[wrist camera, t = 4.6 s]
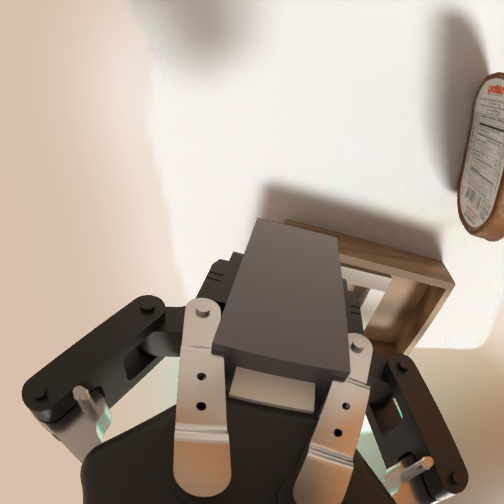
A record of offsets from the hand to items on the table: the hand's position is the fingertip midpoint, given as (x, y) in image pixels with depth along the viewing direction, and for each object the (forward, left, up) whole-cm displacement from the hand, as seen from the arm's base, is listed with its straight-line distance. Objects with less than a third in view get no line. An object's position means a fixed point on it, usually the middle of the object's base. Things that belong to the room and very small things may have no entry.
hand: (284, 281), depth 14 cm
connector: (0, 0, -2) cm, 2 cm away
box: (+10, +9, -15) cm, 20 cm away
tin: (-9, +16, -15) cm, 24 cm away
